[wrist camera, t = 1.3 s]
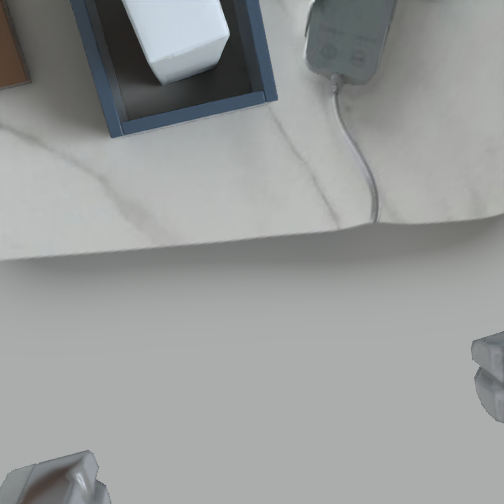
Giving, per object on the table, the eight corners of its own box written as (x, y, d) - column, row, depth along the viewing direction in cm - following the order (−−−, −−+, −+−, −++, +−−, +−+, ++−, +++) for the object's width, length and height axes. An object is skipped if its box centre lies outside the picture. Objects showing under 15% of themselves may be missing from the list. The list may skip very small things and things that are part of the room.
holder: (122, 138, 33) (110, 138, 28) (69, -43, 30) (46, -77, 25) (265, 104, 34) (278, 100, 29) (228, -75, 31) (236, -114, 26)
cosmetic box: (125, -1, 31) (88, -81, 19) (185, -23, 31) (184, -115, 19) (161, 90, 32) (147, 66, 21) (218, 69, 33) (234, 34, 21)
